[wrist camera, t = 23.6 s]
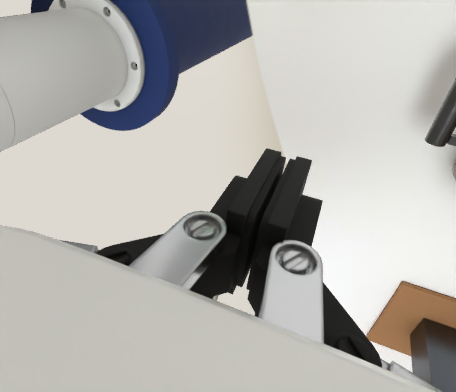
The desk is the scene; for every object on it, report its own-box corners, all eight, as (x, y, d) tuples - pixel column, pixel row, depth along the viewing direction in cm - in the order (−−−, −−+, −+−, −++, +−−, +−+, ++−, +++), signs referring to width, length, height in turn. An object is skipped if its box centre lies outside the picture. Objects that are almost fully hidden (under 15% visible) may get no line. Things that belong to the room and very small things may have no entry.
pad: (366, 335, 45) (366, 339, 45) (402, 280, 38) (402, 284, 38) (460, 371, 42) (461, 375, 42) (518, 319, 35) (520, 324, 35)
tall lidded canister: (409, 335, 42) (415, 412, 34) (423, 317, 39) (433, 396, 32) (452, 350, 40) (467, 434, 33) (469, 333, 38) (490, 419, 31)
